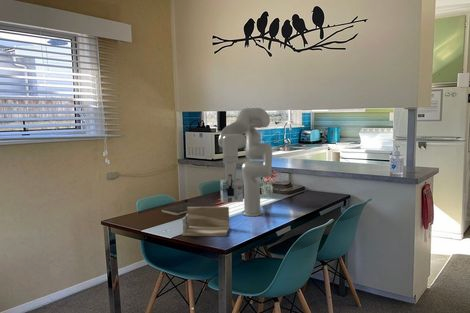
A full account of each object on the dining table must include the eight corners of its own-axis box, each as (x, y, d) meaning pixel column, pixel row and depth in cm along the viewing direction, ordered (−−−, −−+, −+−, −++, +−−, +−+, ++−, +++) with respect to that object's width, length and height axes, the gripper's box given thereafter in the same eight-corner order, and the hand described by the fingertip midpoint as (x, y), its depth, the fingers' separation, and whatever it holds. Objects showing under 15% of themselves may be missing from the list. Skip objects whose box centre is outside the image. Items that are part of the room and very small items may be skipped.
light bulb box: (222, 203, 204) (222, 181, 203) (220, 200, 211) (219, 179, 210) (243, 201, 207) (243, 180, 205) (240, 198, 213) (240, 178, 212)
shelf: (188, 227, 221) (187, 206, 219) (229, 228, 218) (228, 206, 217) (182, 235, 207) (181, 213, 205) (225, 236, 204) (224, 213, 203)
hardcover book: (205, 208, 264) (204, 205, 264) (177, 216, 248) (176, 212, 248) (188, 205, 275) (188, 202, 275) (160, 212, 259) (160, 208, 258)
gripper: (225, 157, 215) (226, 190, 217) (221, 162, 198) (222, 197, 200) (239, 157, 215) (240, 190, 217) (236, 161, 197) (237, 197, 199)
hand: (231, 193), depth 208 cm, fingers closed on light bulb box, 8 cm apart
